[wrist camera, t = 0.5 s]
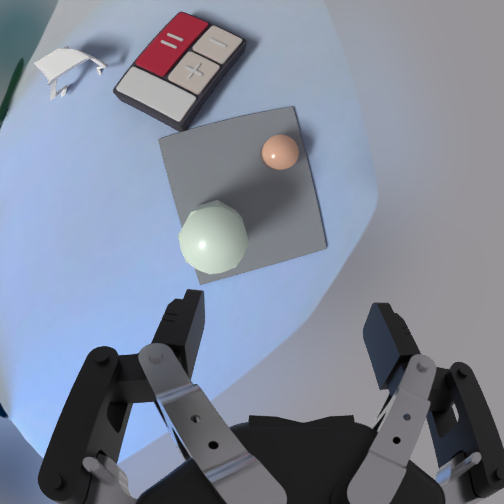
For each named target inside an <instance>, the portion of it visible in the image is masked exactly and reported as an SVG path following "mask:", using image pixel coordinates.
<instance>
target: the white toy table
mask: <svg viewBox="0 0 504 504" xmlns="http://www.w3.org/2000/svg"><path fill="white" fill-rule="evenodd" d="M89 59H91V60H92V61H94V62H95V63H97V64H98V65H99V66H100V67H97V68H96V69H97V71H98V75H101V71H100V69H101V68H106V67H107V64H105V63H104V62H102V61H101V60H99V59H97V58H95V57H93V56H91V55H89V54H87V53H84V52H82V51H80V50H74V49H69V47H68V46H66V47H64V48H60V47H59V48H58V49H57V50H55V51H54V52H52V53H50V54H48V55H47V56H45V57H43V58H42V59H40V60H39V61H37V62H35V63H34V64H35V65H36V66H37V67H38V68H39V69H40V70H41V71H42V72H43V73H44V75H45V76H46V77H47V78H48V80H49V81H48V84H47V85H51V92H50V100H52V99H53V98H54V97H56V96H57V95H58V94H59V93H60V92H61V91H62V94H61V97H62V96H64V95H65V94H66V91H67V87H68V84H67V85H66V86H64V87H63V88H62V89H60V90H59V91H58V92H57V93H56V84H57V79H58V78H59V77H61V76H62V75H64V74H65V73H67V72H69V71H70V70H72V69H73V68H75V67H77V66H78V65H80V64H82V63H83V62H85V61H87V60H89Z"/></svg>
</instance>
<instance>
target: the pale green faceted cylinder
mask: <svg viewBox="0 0 504 504" xmlns="http://www.w3.org/2000/svg"><path fill="white" fill-rule="evenodd" d="M178 238H179V241H180V247H181V251H182V253H183V255H184V257H185V260H186V262H187V263H189V264H190V265H191V266H193V267H194V268H195V269H197V270H199V271H201V272H205V273H208V274H217V273H223V272H226V271H228V270H230V269H232V268H235V267H236V266H237V264H238V263H239V262H240V261H241V259H242V258H243V256H244V254H245V251H246V249H247V247H248V245H249V241H248V238H247V233H246V230H245V226H244V223H243V219H242V217H241V216H240V215H239V213H238V212H237V211H236V210H235V209H233V208H231V207H229V206H228V205H226V204H224V203H222V202H220V201H219V200H215V201H212V202H208V203H205V204H201V205H198V206H196V207H195V208H194V209H193V210H192V211H191V213H190V215H189V216H188V218H187V220H186V222H185V224H184V225H183V228H182V229H181V231H180V233H179V235H178Z"/></svg>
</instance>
